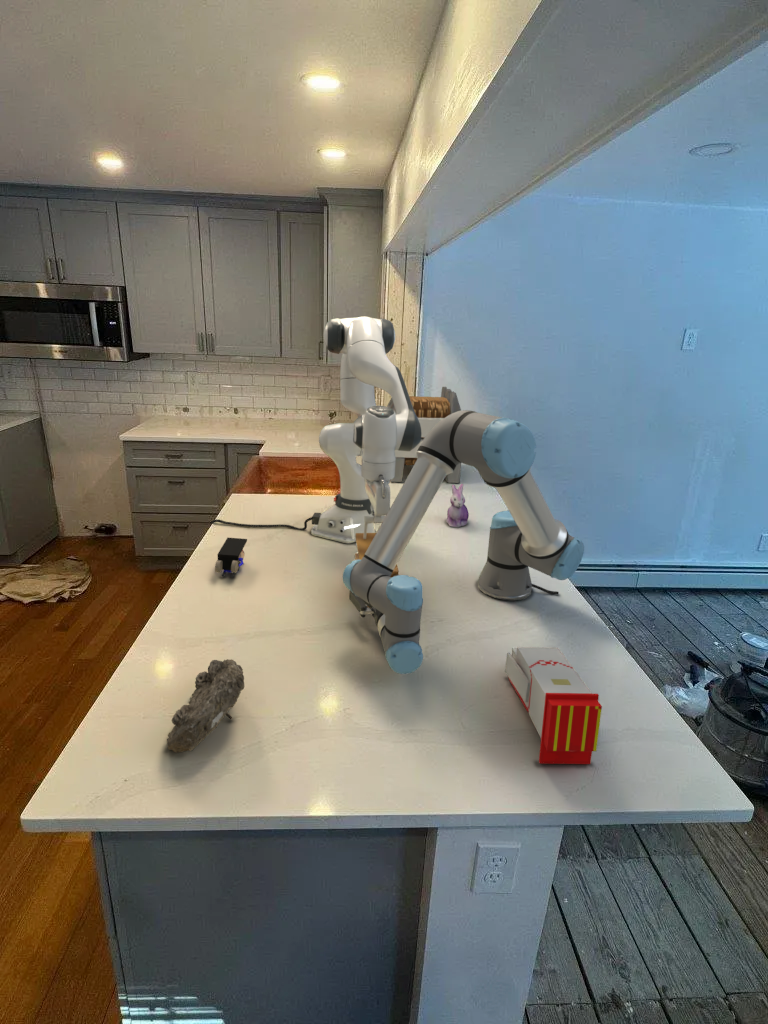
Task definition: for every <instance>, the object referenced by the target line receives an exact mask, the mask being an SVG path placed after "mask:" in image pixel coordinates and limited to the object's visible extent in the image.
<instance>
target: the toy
mask: <svg viewBox="0 0 768 1024" xmlns="http://www.w3.org/2000/svg"><path fill="white" fill-rule="evenodd" d="M505 659H506V660H505V667H504V673H505V674H506V676H507V679H508V681H509V682H510V685H511V686H512V688H513V689H514V691H515V693H516V694H517V696H518V698H519V700H520V701H521V703H522V705H523V706H524V708H525V710H526V711H527V713H528V716H529V718H530V720H531V722H532V723H533V726H534V728H535V729H536V732H537V733H538V735H539V737H540V746H539V755H538V764H542V765H543V764H545V765H547V764H549V765H554V764H556V765H591V763H592V756H593V752H597V750H598V749H597V748H598V741H599V732H600V725H601V717H602V708H603V706H602V704H601V703H600V701H599V697H600V694H599V693H593V692H592V690H590V688H589V687H588V685H587V684H586V683H585V681H583V679H582V678H581V676H580V675H579V673H578V672H577V670H576V669H575V668H574V667H573V665H572V664H571V662H569V660H568V659H567V657H566V656H565V653H563V652H562V651H561V649H560V648H559V647H550V646H549V647H548V646H547V647H545V646H517V647H511V653H510V652H507V653H506V658H505Z"/></svg>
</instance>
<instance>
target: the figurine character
mask: <svg viewBox="0 0 768 1024" xmlns="http://www.w3.org/2000/svg"><path fill="white" fill-rule="evenodd" d="M247 542H248V538H240V537H226V539H225V541H224V543H223V544H222V546H221V547H220V549H219V551H218V552H217V560H216V562H215V564H214V572H215V573H221V577H222V578H224V577H225V576H226V574H227V573H230V574H231V573H232V574H231V578H234V577H235V575H236V573H237V572H239V571H240V567H242V566H243V565H244V564H245V562H244V558H245V551H244V547H245V546H246V544H247Z"/></svg>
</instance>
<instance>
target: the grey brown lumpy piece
mask: <svg viewBox="0 0 768 1024" xmlns="http://www.w3.org/2000/svg"><path fill="white" fill-rule="evenodd" d="M243 670H244V669H243V667H242V665H240V664H237V662H236V661H235V660H234V659H232V658H231V659H227V658H226V659H224V660H223V661H222V660H217V659H212V660H211V661H210V663H209V665H208V666H207V671H201V672H199V673H198V674H197V675H196V676H195V680H194V684H195V685H194V687H195V689H194V690H193V693H192V694H191V697H190V698H189V700H188V704H184V705H182V706H181V707H180V709H177V710H176V711H175V713H174V715H173V716H172V718H171V723H172V724H173V727H172V730H171V731H170V732H168V734H167V738H166V741H167V742H166V745H167V749H168V750H169V751H173V752H174V753H176V754H178V753H182V752H188V751H189V752H192V751H193V750H195V748H196V747H197V746H199V744H200V743H201V742H203V741H204V740H205V739H206V738H207V737H208V736H209V735H210V734H211V733H212V732H214V730H215V729H217V727H218V726H219V724H220V722H221V721H222V720H223V719H224V718H225V716H226V717H227V719H229V720H233V717H232V715H230V714H229V710H230V709H231V708H234V706H235V704H236V703H237V702H238V699H239V697H240V695H241V693H242V691H243V690H245V689H244V688H245V675H244V671H243Z"/></svg>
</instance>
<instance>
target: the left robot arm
mask: <svg viewBox="0 0 768 1024" xmlns="http://www.w3.org/2000/svg"><path fill="white" fill-rule="evenodd" d="M323 341H324V345H325V347H326V349H327V351H328V352H329V353H331V354H335V355H340V354H341V360H340V369H339V387H340V388H339V394H340V398H339V399H340V403H341V405H342V407H343V408H344V409H346V410H347V411H349V412H351V413H353V414H355V416H357V418H356V419H355V420H354V421H353V422H337V423H331V424H327V425H324V427H322V429H321V430H320V432H319V435H318V444H319V447H320V450H321V451H322V452H323V454H325V455H326V456H327V457H329V458H330V459H331V460H332V462H333V463H334V464H335V466H336V467H337V470H338V474H339V483H340V484H339V485H340V488H339V489H340V490H339V491H338V492H337V494H336V495H335V496H334V497H333V502H334V504H333V505H331V506H329V507H328V508H326V509H325V510H323V512H314V513H313V514H312V516H310V517H308V518H306V519H305V520H304V522H303V527H301V528H299V527H296V526H294V525H290V524H281V523H279V524H250V523H249V524H247V523H239V522H231V521H226V520H222V519H217V518H216V519H213V520H212V521H210V523H209V524H210V525H213V524H214V523H220V524H224V525H229V526H236V527H245V528H289V529H292V530H297V531H306V530H307V528H308V522H311V525H313V526H312V528H311V530H310V533H311V536H315V537H319V538H323V539H326V540H330V541H336V542H339V543H343V544H352V543H356V537H355V535H356V533H364V525H365V523H364V516H374V522H375V523H368V525H367V533H377V531H376V528H375V524H380V523H379V522H381V516H386V515H387V513H388V511H389V509H390V508H391V487H390V485H389V484H390V483H391V479H393V478H394V477H395V463H396V457H395V450H398V451H411V450H412V449H414V448H415V447H416V446H417V445H418V444H419V443H420V441H421V434H422V432H421V426H420V422H419V420H418V418H417V416H416V414H415V412H414V409H413V406H412V403H411V400H410V397H409V396H410V394H409V391H408V389H407V385H406V383H405V382H406V381H405V379H404V376H403V374H402V372H401V370H400V368H399V367H398V366H397V365H395V364H393V362H392V361H391V360H390V359H389V357H388V355H387V354H388V353H389V352H391V350H392V349H393V348H394V344H395V342H396V330H395V327H394V324H393V323H392V321H391V320H389V319H386V318H381V317H380V318H376V317H375V318H374V317H370V316H364V315H363V316H359V317H343V318H340V317H335V318H330V319H329V320H328V321H327V322H326V324H325V327H324V330H323ZM375 388H378V389H380V390H383V391H384V392H386V393H387V394H389V396H390V397H391V398H392V400H393V403H394V406H395V409H396V412H397V414H395V411H394V410H393V409H391V408H389V407H387V405H386V406H385V405H377V403H376V395H375ZM358 457H361V464H360V463H359V462H357V458H358Z"/></svg>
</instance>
